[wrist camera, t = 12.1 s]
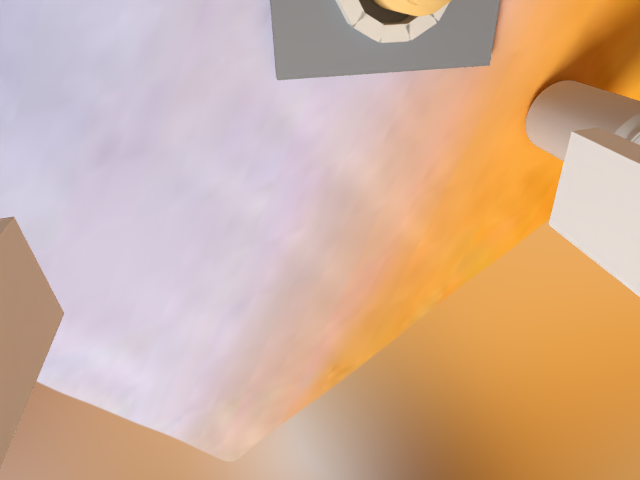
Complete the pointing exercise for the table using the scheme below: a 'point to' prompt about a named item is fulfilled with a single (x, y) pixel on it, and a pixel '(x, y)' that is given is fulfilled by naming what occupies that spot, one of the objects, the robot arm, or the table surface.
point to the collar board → (358, 55)
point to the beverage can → (579, 115)
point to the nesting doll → (412, 6)
